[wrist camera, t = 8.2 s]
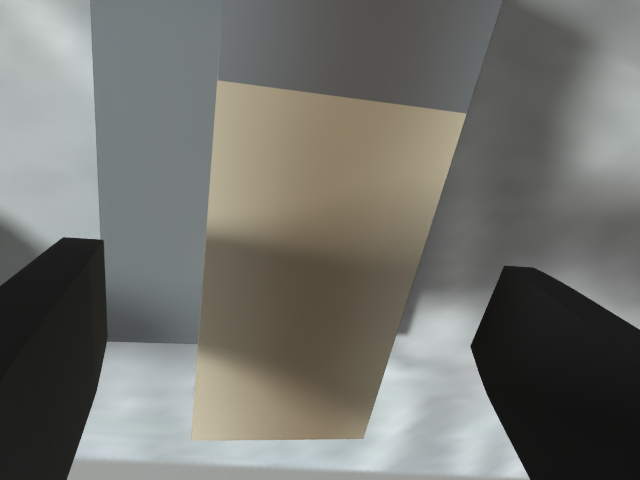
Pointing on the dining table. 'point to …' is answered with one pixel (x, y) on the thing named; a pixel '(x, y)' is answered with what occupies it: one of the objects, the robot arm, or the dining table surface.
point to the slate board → (154, 160)
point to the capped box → (323, 202)
